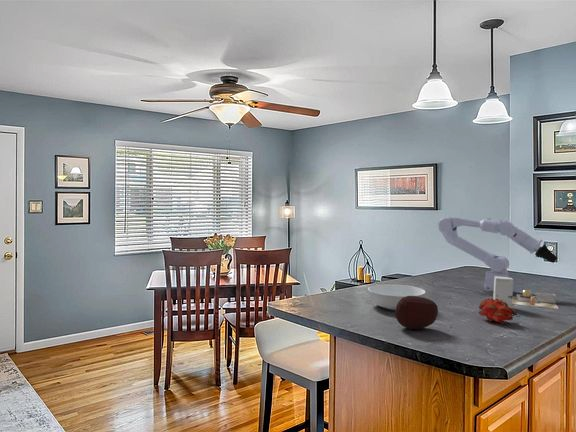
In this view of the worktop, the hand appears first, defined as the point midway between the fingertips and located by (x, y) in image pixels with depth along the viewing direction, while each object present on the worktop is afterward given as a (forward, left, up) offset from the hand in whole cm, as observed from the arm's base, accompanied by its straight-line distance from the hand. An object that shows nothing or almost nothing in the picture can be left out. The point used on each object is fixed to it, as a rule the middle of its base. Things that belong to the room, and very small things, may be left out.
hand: (555, 260), depth 184 cm
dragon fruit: (-22, -50, -17) cm, 57 cm away
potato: (-45, -72, -17) cm, 86 cm away
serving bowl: (-56, -47, -17) cm, 75 cm away
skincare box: (-20, -31, -17) cm, 40 cm away
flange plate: (-8, -12, -15) cm, 21 cm away
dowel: (-9, -20, -16) cm, 27 cm away
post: (-11, -12, -16) cm, 22 cm away
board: (-9, -14, -16) cm, 23 cm away
